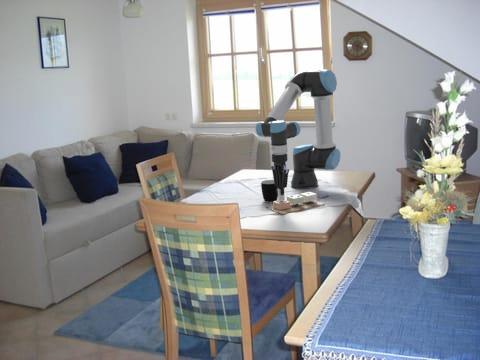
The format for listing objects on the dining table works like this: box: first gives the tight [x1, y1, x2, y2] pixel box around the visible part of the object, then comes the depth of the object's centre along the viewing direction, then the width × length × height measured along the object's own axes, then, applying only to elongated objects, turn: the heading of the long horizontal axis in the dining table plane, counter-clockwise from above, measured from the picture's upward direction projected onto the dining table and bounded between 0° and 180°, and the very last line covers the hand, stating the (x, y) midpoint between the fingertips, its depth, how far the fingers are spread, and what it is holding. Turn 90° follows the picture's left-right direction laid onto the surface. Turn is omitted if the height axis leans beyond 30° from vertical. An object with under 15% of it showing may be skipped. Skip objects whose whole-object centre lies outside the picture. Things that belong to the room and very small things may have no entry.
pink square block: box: [272, 199, 290, 210], centre depth 274 cm, size 6×6×3 cm
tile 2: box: [286, 194, 304, 205], centre depth 278 cm, size 6×6×3 cm
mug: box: [260, 179, 278, 203], centre depth 292 cm, size 12×9×10 cm
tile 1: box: [299, 191, 318, 202], centre depth 281 cm, size 6×6×3 cm
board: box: [267, 200, 325, 215], centre depth 279 cm, size 25×14×1 cm, turn 118°
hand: (281, 200), depth 274 cm, fingers closed
